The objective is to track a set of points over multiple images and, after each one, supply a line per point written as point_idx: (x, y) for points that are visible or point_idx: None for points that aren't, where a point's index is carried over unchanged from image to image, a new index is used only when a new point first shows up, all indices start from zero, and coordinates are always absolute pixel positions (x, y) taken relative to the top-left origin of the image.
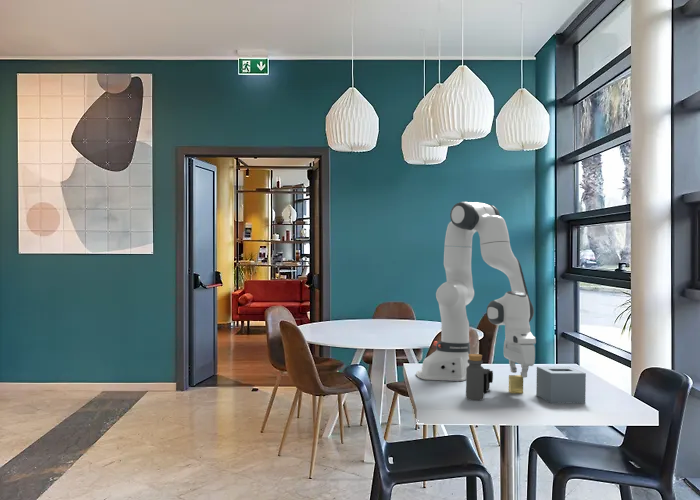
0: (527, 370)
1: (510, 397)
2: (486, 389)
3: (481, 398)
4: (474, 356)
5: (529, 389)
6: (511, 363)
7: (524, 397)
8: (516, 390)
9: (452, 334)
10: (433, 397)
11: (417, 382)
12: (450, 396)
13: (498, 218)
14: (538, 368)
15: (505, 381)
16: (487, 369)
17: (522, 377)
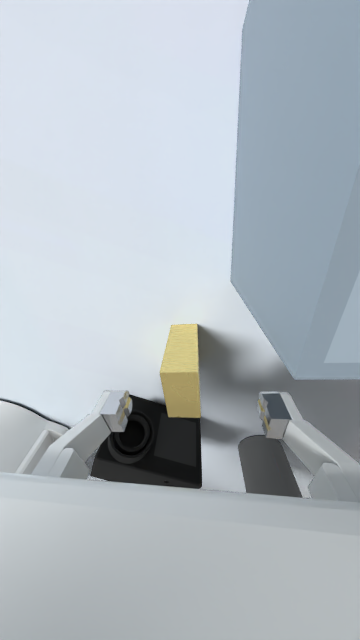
0: (326, 438)
1: (259, 378)
2: (196, 424)
3: (281, 446)
4: None
5: (123, 276)
6: (83, 453)
7: (266, 340)
8: (198, 352)
9: None
10: (238, 487)
11: None
12: (232, 470)
13: None
14: (343, 369)
15: (2, 326)
16: (104, 464)
17: (197, 371)
